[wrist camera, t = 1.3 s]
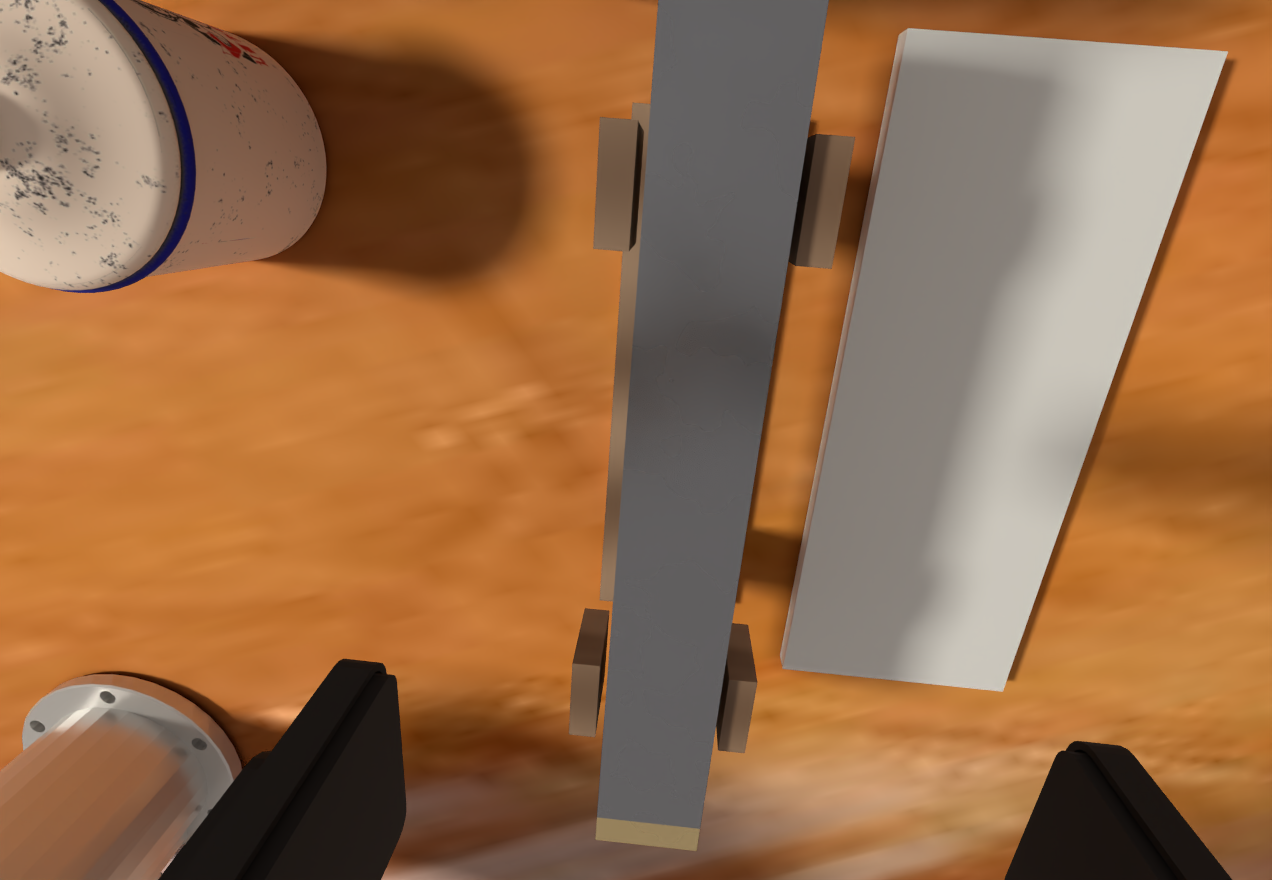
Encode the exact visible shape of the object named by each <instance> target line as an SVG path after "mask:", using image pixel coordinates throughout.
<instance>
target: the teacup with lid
mask: <svg viewBox="0 0 1272 880" xmlns="http://www.w3.org/2000/svg"><path fill="white" fill-rule="evenodd" d="M326 168H327V166H326V154H325V148H324V143H323V139H322V135H321V131H320V128H319V125H318V122H317V120H316V117H315V115H314V113H313V111H312V109H311V107H310V105H309V103H308V101H307V99H306V98H305V96H304V94H303V93H302V91H301V90H300V88H299V87H298V85H297V84H296V83H295V81H294V80H293V79H292V77H291V76H290V75H289V74H288V73H287V72H286V71H285V70H284V68H283V67H282V66H281V65H279V64H278V63H277V62H276V61H275V60H274V59H273V58H272V57H271V56H269V55H268V54H267V53H266V52H264V51H263V50H261V49H260V48H258V47H257V46H255V45H254V44H252V43H250V42H248V41H247V40H245V39H243V38H241V37H239V36H236V35H234V34H232V33H229V32H226V31H223V30H221V29H218V28H215V27H212V26H210V25H207V24H204V23H201V22H199V21H196V20H193V19H190V18H188V17H185V16H182V15H179V14H176V13H174V12H171V11H168V10H165V9H163V8H160V7H157V6H154V5H152V4H149V3H146V2H143V1H141V0H0V272H2V273H4V274H6V275H9V276H11V277H14V278H16V279H19V280H21V281H24V282H27V283H30V284H34V285H37V286H42V287H47V288H51V289H56V290H61V291H67V292H76V293H95V292H105V291H110V290H115V289H119V288H122V287H125V286H128V285H131V284H133V283H135V282H137V281H139V280H141V279H143V278H145V277H148V276H155V275H161V274H168V273H175V272H181V271H188V270H194V269H201V268H207V267H214V266H220V265H227V264H233V263H240V262H246V261H253V260H259V259H263V258H267V257H270V256H273V255H276V254H278V253H280V252H282V251H284V250H286V249H287V248H289V247H290V246H292V245H293V244H294V243H296V242H297V241H298V240H299V239H300V238H301V237H302V236H303V235H304V234H305V233H306V231H307V230H308V229H309V227H310V226H311V224H312V223H313V221H314V219H315V218H316V216H317V213H318V211H319V209H320V206H321V203H322V200H323V196H324V191H325V185H326Z"/></svg>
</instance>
